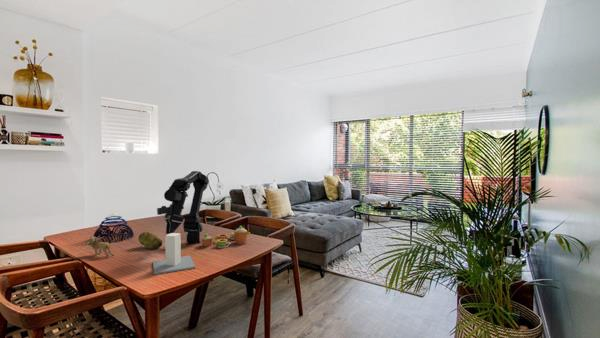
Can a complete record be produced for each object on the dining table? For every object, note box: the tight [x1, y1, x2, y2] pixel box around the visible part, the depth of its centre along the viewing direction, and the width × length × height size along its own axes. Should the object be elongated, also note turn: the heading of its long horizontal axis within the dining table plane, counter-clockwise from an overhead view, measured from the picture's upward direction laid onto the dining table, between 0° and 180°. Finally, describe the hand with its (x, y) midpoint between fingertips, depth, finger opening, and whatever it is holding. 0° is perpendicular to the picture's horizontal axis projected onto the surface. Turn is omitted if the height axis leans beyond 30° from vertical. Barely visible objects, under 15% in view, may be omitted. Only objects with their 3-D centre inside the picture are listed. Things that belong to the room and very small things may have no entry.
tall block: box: [164, 232, 182, 266], centre depth 133 cm, size 4×4×13 cm
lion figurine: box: [86, 235, 115, 259], centre depth 145 cm, size 15×5×9 cm, turn 76°
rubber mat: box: [152, 255, 196, 276], centre depth 133 cm, size 16×16×1 cm
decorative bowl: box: [93, 212, 135, 244], centre depth 176 cm, size 20×20×14 cm
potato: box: [138, 231, 163, 250], centre depth 158 cm, size 8×13×8 cm, turn 55°
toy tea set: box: [200, 225, 251, 249], centre depth 167 cm, size 26×16×10 cm, turn 134°
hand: (168, 234), depth 147 cm, fingers open, 9 cm apart
